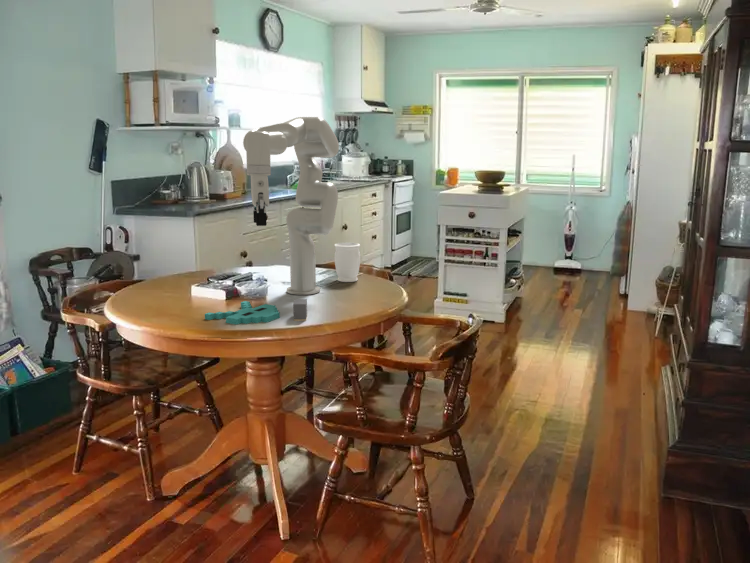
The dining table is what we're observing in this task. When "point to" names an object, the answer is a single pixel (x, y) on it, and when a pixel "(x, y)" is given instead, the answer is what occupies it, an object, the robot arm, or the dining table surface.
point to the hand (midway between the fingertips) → (260, 224)
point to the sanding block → (300, 309)
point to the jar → (347, 261)
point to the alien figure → (247, 314)
